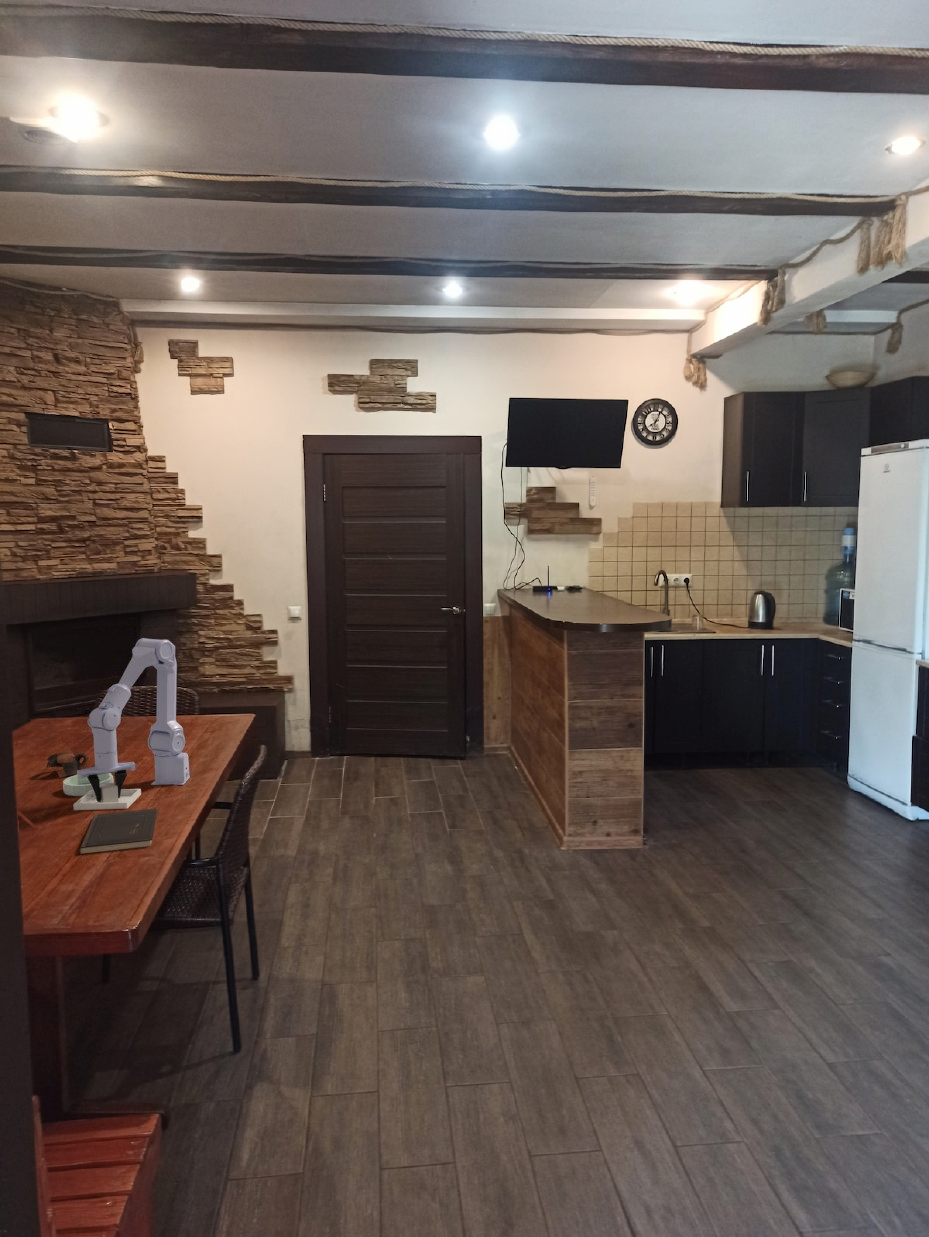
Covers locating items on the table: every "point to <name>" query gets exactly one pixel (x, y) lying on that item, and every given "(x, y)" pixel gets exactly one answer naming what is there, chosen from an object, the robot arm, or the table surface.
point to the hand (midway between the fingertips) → (108, 799)
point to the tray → (123, 802)
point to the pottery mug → (67, 762)
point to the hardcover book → (120, 831)
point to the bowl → (83, 784)
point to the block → (108, 793)
